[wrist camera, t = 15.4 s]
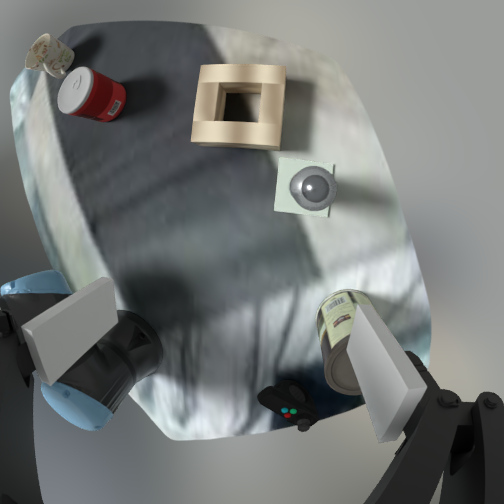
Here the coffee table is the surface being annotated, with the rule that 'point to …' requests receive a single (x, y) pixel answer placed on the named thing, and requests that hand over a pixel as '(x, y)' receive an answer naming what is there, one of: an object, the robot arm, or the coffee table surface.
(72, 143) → the coffee table surface
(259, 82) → the housing
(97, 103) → the canned food
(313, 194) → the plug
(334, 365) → the coffee can
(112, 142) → the coffee table surface
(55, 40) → the mug
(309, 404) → the controller
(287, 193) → the pad
